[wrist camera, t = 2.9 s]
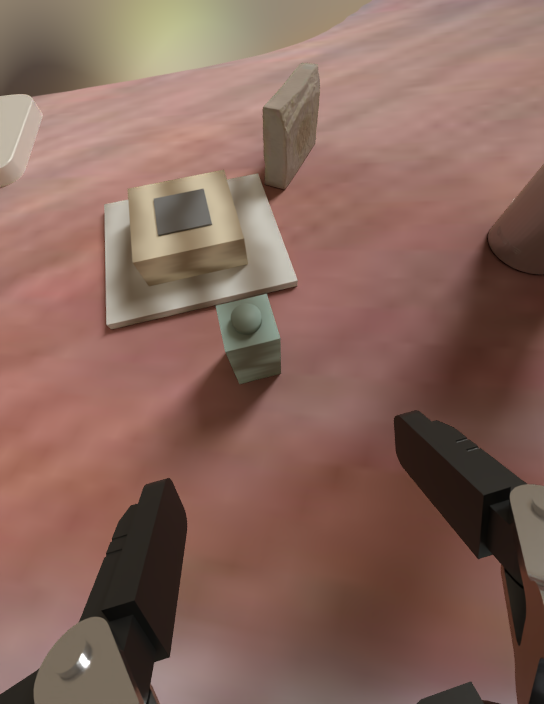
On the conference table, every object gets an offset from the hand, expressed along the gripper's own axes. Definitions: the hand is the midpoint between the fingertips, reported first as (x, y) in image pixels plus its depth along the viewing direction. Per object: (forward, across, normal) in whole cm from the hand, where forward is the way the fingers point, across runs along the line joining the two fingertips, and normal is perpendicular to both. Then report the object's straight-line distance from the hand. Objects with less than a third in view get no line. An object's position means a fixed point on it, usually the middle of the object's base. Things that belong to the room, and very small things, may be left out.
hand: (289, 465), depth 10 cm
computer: (+56, +38, -31) cm, 75 cm away
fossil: (+42, -13, -17) cm, 47 cm away
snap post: (+20, 0, +4) cm, 21 cm away
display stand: (+33, +4, -9) cm, 35 cm away
